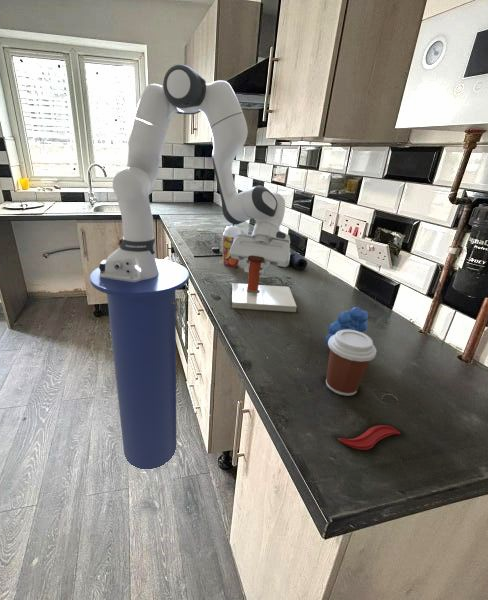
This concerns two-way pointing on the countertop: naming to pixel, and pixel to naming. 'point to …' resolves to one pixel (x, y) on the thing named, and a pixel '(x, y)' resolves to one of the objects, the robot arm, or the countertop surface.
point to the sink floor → (263, 298)
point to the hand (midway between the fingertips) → (254, 272)
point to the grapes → (349, 322)
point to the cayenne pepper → (370, 437)
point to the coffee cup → (348, 360)
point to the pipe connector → (297, 260)
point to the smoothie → (229, 245)
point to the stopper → (254, 272)
